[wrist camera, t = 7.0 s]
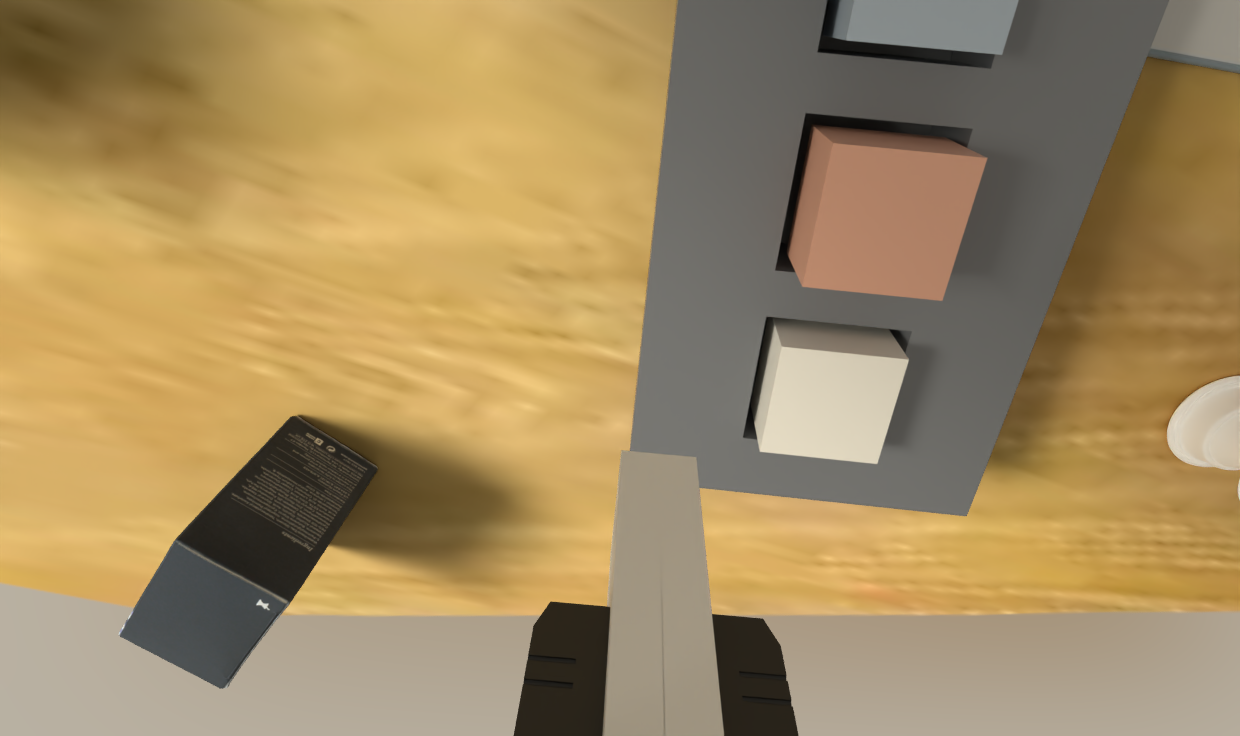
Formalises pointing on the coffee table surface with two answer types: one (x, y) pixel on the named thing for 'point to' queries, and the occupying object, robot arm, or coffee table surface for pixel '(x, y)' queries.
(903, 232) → the terracotta key
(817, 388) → the ivory key
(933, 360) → the key panel
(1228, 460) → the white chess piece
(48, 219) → the coffee table surface
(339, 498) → the box
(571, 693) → the robot arm
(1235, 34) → the smartphone
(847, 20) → the slate key
